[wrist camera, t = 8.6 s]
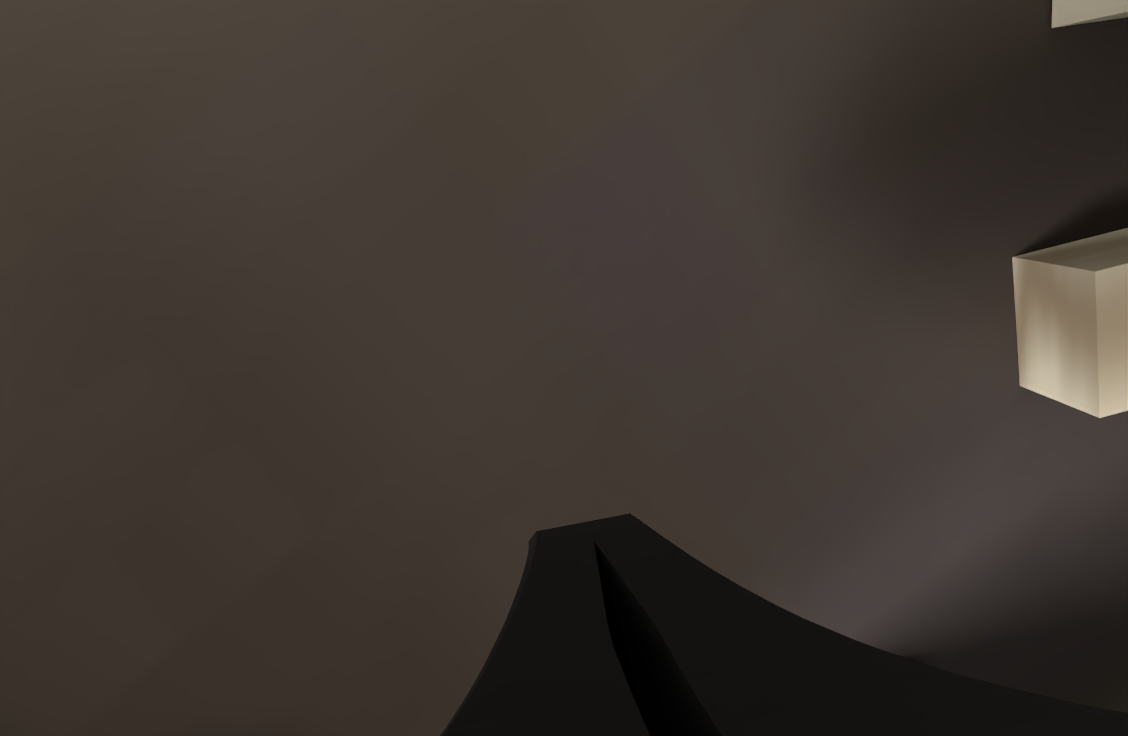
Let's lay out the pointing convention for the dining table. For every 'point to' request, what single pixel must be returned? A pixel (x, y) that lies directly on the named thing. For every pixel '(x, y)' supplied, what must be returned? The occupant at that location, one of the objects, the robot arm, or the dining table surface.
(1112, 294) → the slat
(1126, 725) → the robot arm
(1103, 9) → the endcap with seated slat
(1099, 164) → the dining table surface
